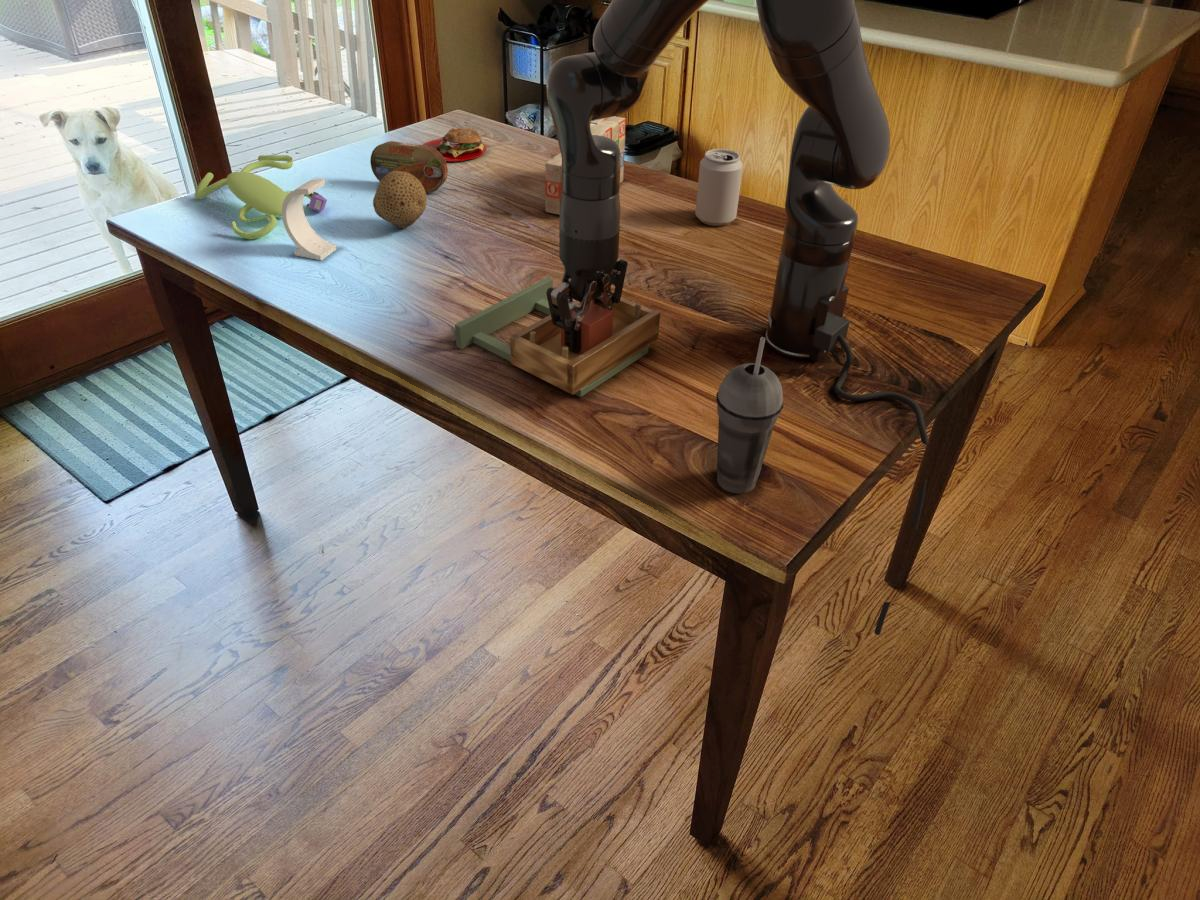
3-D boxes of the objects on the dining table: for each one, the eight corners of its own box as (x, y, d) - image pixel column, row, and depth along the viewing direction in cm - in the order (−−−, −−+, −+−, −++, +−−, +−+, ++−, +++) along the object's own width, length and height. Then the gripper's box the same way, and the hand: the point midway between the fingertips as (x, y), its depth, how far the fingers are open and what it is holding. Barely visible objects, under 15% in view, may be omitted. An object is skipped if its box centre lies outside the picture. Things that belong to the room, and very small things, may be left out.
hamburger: (462, 135, 190) (460, 106, 187) (499, 153, 182) (498, 124, 178) (406, 148, 183) (403, 119, 179) (442, 168, 175) (439, 138, 171)
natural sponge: (435, 235, 150) (429, 179, 144) (383, 243, 148) (375, 186, 142) (423, 215, 157) (417, 160, 151) (373, 221, 154) (365, 166, 148)
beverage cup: (761, 461, 104) (788, 314, 92) (773, 501, 99) (803, 351, 86) (701, 460, 104) (720, 313, 92) (709, 501, 98) (730, 351, 86)
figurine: (285, 173, 171) (279, 144, 167) (346, 219, 155) (341, 188, 151) (189, 194, 162) (181, 164, 158) (243, 245, 146) (235, 213, 142)
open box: (658, 339, 123) (660, 306, 120) (572, 395, 112) (572, 360, 108) (598, 312, 128) (599, 281, 125) (510, 363, 117) (509, 330, 114)
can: (734, 229, 156) (742, 163, 148) (692, 225, 157) (698, 159, 149) (737, 213, 161) (745, 148, 154) (697, 208, 162) (703, 144, 155)
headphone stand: (321, 260, 142) (307, 189, 135) (289, 254, 144) (274, 183, 136) (336, 249, 146) (324, 178, 138) (306, 243, 147) (292, 173, 140)
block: (612, 343, 119) (613, 311, 116) (588, 358, 116) (589, 325, 113) (584, 331, 122) (584, 299, 119) (560, 345, 119) (560, 312, 115)
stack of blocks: (575, 219, 157) (575, 151, 150) (544, 212, 159) (543, 145, 152) (623, 180, 172) (626, 116, 165) (595, 174, 174) (596, 111, 167)
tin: (372, 185, 167) (366, 141, 162) (380, 179, 170) (374, 136, 164) (444, 196, 164) (440, 151, 159) (451, 190, 166) (447, 146, 161)
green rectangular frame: (657, 346, 124) (659, 324, 122) (569, 405, 112) (569, 382, 110) (548, 297, 134) (548, 276, 132) (456, 347, 123) (454, 324, 120)
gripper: (574, 252, 102) (573, 374, 112) (648, 216, 111) (640, 332, 121) (527, 233, 106) (530, 353, 116) (602, 199, 114) (598, 313, 125)
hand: (586, 341), depth 119 cm, fingers closed on block, 5 cm apart
